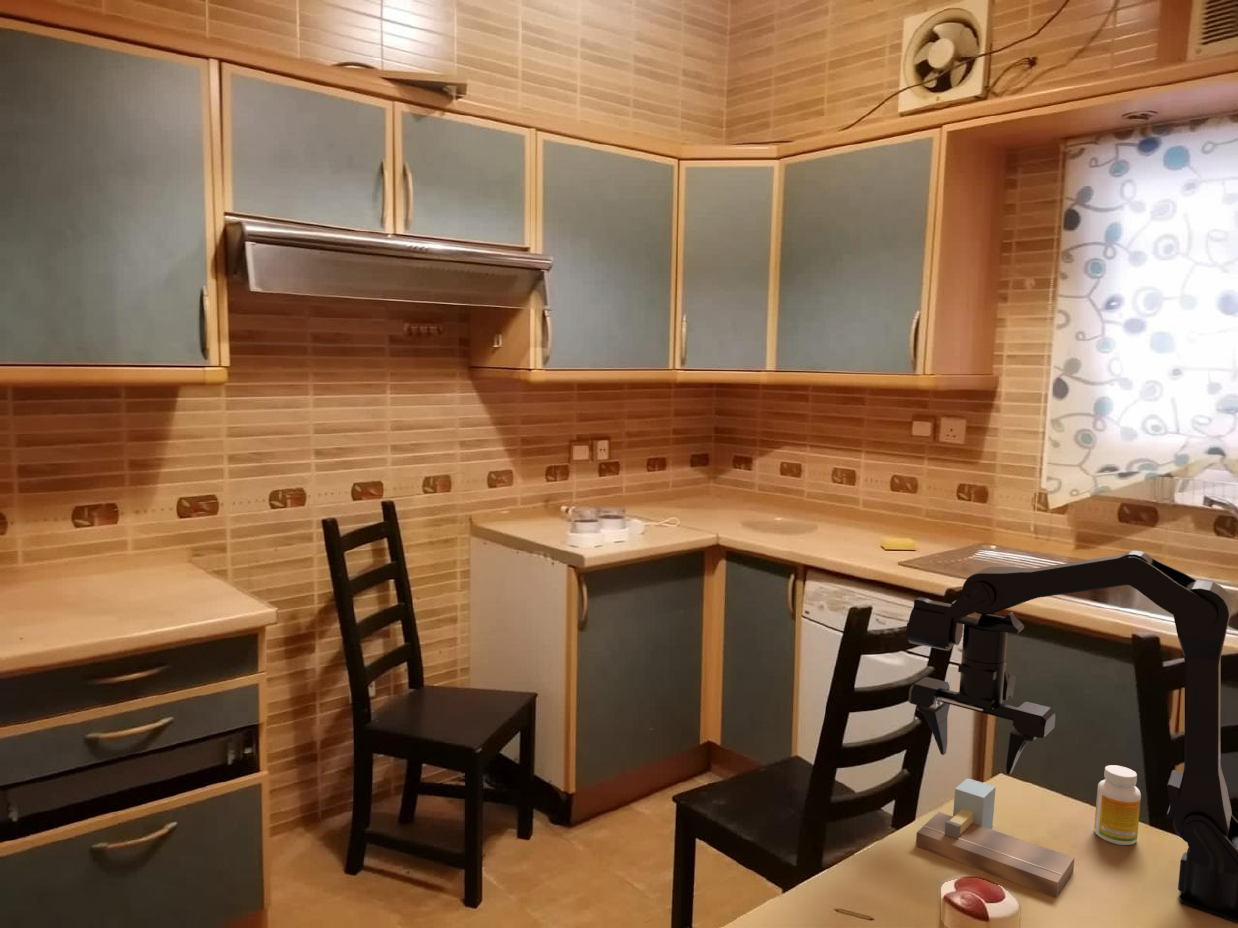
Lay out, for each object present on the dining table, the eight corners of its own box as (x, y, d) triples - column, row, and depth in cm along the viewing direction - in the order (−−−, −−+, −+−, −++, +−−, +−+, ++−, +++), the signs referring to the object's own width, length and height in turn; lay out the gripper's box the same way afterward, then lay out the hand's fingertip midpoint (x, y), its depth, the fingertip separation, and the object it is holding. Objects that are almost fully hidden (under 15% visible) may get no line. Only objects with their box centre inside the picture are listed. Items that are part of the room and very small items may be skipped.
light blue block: (992, 826, 130) (995, 786, 129) (964, 855, 121) (968, 812, 121) (964, 817, 132) (967, 777, 132) (935, 844, 124) (938, 802, 123)
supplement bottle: (1145, 846, 125) (1151, 779, 124) (1106, 845, 125) (1111, 778, 124) (1124, 827, 131) (1129, 763, 130) (1086, 826, 131) (1092, 761, 130)
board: (1073, 871, 118) (1074, 856, 118) (1056, 897, 112) (1057, 881, 112) (937, 824, 130) (938, 811, 130) (915, 845, 124) (916, 831, 123)
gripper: (1070, 659, 127) (1061, 765, 129) (939, 632, 139) (932, 729, 141) (1047, 678, 119) (1038, 791, 120) (910, 647, 131) (903, 750, 132)
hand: (975, 763), depth 128 cm, fingers open, 9 cm apart
